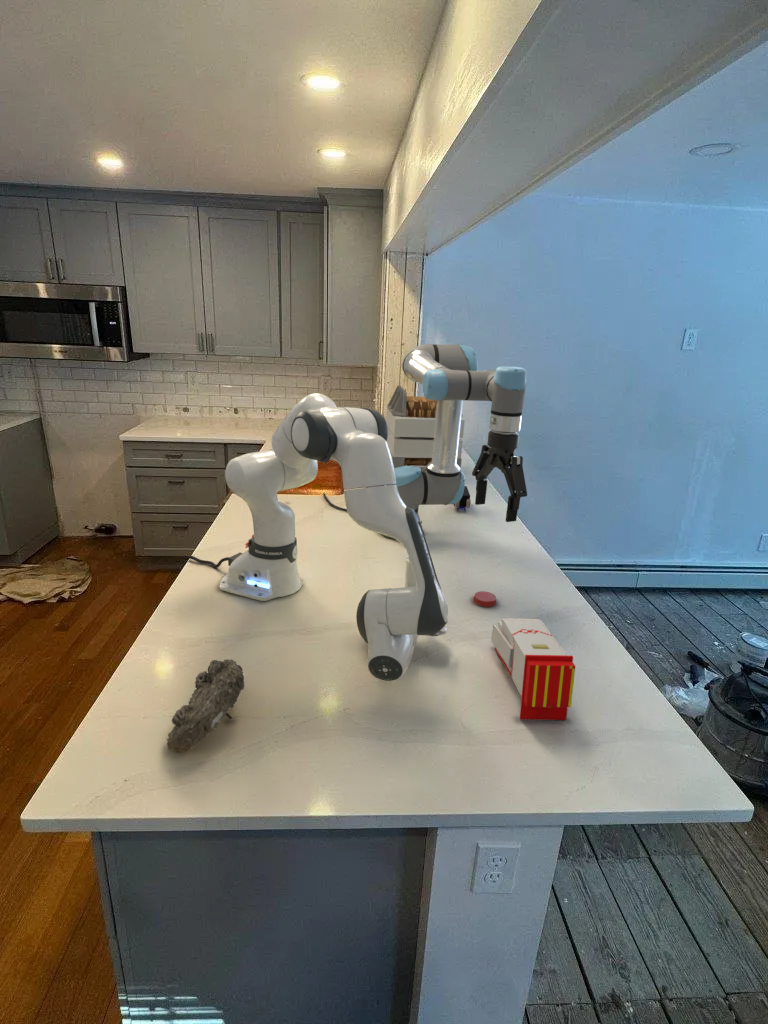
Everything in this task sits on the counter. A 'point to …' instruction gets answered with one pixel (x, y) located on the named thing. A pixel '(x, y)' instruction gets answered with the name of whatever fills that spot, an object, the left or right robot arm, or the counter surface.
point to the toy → (535, 667)
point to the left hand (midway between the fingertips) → (409, 600)
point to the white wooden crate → (413, 429)
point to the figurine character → (464, 500)
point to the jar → (409, 575)
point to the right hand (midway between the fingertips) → (494, 512)
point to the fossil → (206, 705)
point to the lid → (485, 599)
